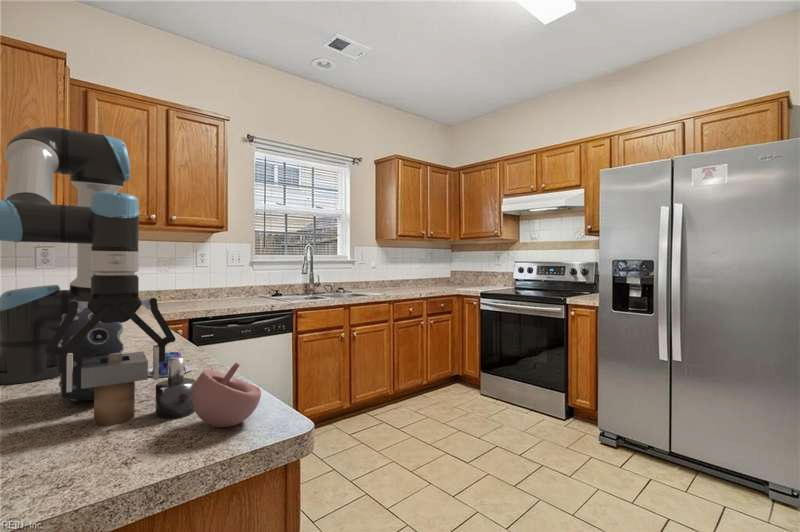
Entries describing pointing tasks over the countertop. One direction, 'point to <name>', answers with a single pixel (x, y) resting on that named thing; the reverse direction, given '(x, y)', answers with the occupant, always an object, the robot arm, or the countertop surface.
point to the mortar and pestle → (224, 398)
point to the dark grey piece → (88, 350)
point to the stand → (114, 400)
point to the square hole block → (113, 370)
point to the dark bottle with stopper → (174, 392)
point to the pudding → (164, 365)
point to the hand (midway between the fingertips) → (114, 384)
